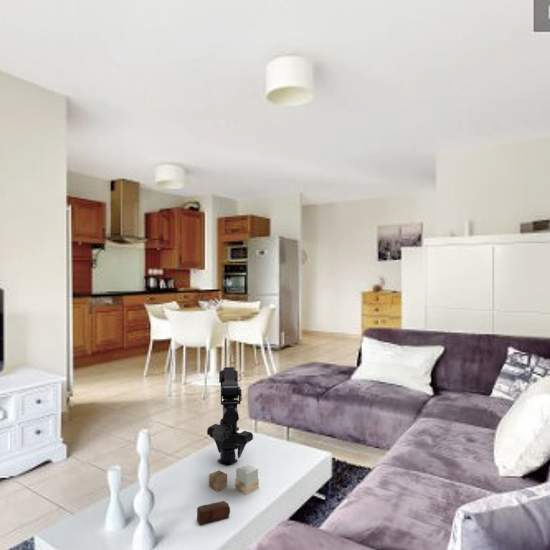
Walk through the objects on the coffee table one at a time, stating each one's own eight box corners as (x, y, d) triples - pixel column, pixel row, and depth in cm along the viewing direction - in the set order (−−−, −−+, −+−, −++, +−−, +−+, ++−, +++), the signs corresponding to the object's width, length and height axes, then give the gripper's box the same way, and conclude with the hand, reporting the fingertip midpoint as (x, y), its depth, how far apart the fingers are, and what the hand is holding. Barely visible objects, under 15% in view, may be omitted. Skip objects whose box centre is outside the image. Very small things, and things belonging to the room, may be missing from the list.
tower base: (235, 489, 162) (235, 478, 162) (247, 483, 167) (247, 473, 167) (246, 495, 158) (246, 484, 158) (258, 488, 163) (258, 478, 163)
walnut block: (209, 487, 163) (209, 474, 163) (218, 482, 167) (219, 470, 167) (217, 491, 160) (217, 478, 160) (227, 486, 164) (227, 474, 164)
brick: (200, 526, 138) (200, 512, 138) (196, 520, 141) (196, 506, 141) (230, 518, 143) (230, 504, 143) (225, 512, 146) (226, 499, 146)
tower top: (236, 479, 162) (236, 468, 162) (247, 473, 167) (247, 463, 167) (246, 484, 158) (246, 473, 158) (257, 478, 162) (257, 468, 162)
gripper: (198, 417, 161) (197, 457, 162) (237, 426, 152) (237, 469, 152) (216, 409, 171) (215, 447, 171) (254, 417, 162) (253, 457, 162)
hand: (229, 455), depth 164 cm, fingers open, 9 cm apart
